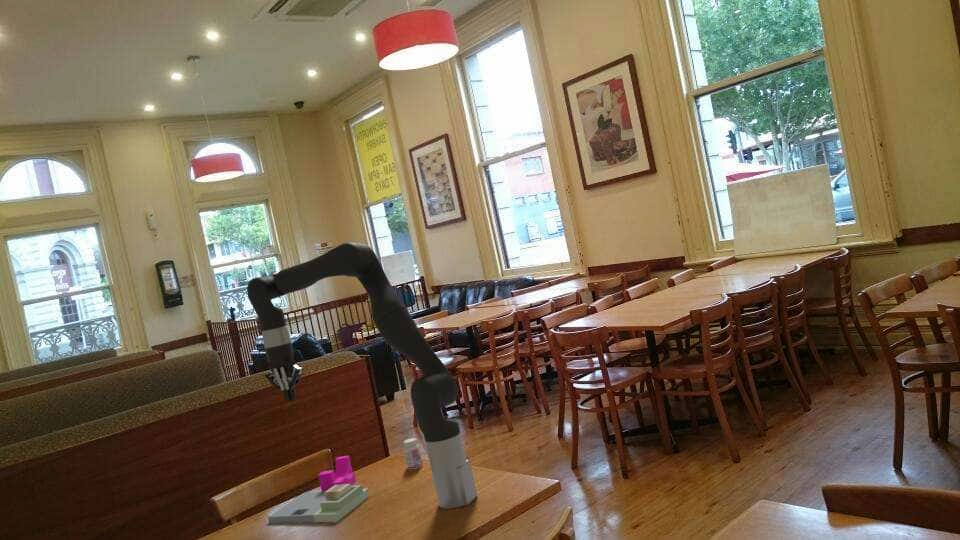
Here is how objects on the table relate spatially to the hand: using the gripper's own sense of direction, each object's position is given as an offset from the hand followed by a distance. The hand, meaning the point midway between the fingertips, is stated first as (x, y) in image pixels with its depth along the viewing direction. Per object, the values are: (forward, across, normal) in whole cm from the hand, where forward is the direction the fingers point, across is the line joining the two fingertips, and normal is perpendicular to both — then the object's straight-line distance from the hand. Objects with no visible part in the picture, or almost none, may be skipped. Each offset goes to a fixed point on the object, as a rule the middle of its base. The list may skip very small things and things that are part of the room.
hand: (290, 401), depth 196 cm
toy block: (+29, -6, -7) cm, 31 cm away
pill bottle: (+29, -24, -20) cm, 43 cm away
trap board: (+29, -10, +10) cm, 32 cm away
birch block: (+26, -17, +9) cm, 33 cm away
